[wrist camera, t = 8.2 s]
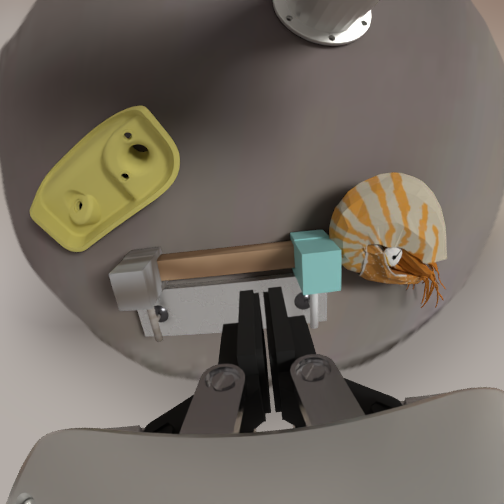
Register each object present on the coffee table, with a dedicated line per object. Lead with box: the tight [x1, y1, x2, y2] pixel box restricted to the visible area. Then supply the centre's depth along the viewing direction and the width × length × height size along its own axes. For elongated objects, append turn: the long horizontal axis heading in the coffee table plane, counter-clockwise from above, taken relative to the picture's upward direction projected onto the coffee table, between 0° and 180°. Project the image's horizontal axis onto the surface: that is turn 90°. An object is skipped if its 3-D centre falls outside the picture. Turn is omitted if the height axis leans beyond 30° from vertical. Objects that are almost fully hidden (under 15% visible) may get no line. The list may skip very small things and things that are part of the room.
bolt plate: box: [137, 273, 327, 336], centre depth 38 cm, size 7×25×1 cm, turn 96°
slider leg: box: [290, 230, 341, 328], centre depth 33 cm, size 11×4×8 cm, turn 6°
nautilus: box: [329, 172, 447, 308], centre depth 33 cm, size 8×22×15 cm
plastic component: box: [30, 106, 180, 252], centre depth 31 cm, size 20×7×10 cm
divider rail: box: [109, 241, 295, 342], centre depth 34 cm, size 11×25×8 cm, turn 96°
